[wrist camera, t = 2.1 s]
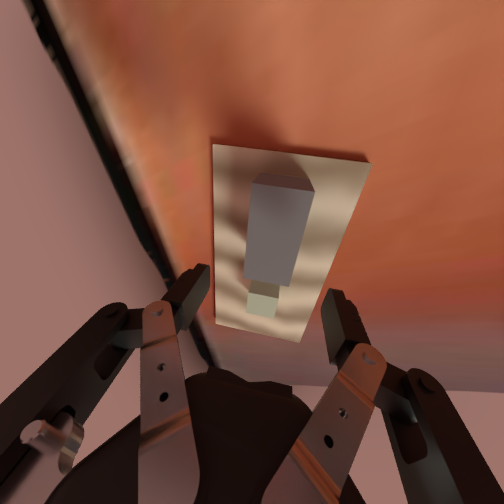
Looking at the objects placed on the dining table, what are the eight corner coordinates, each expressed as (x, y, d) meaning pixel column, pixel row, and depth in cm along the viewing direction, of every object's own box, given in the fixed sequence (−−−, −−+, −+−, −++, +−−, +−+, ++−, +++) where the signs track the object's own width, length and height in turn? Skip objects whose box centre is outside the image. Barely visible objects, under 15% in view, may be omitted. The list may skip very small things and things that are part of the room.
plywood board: (215, 143, 20) (212, 144, 19) (369, 162, 18) (372, 163, 18) (217, 319, 36) (215, 323, 35) (299, 337, 35) (299, 342, 34)
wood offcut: (253, 273, 27) (248, 292, 24) (280, 278, 27) (278, 298, 23) (251, 292, 29) (245, 312, 26) (275, 297, 29) (273, 318, 26)
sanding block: (261, 171, 20) (251, 182, 15) (309, 177, 19) (315, 191, 14) (252, 250, 25) (243, 278, 20) (289, 256, 25) (288, 287, 20)
